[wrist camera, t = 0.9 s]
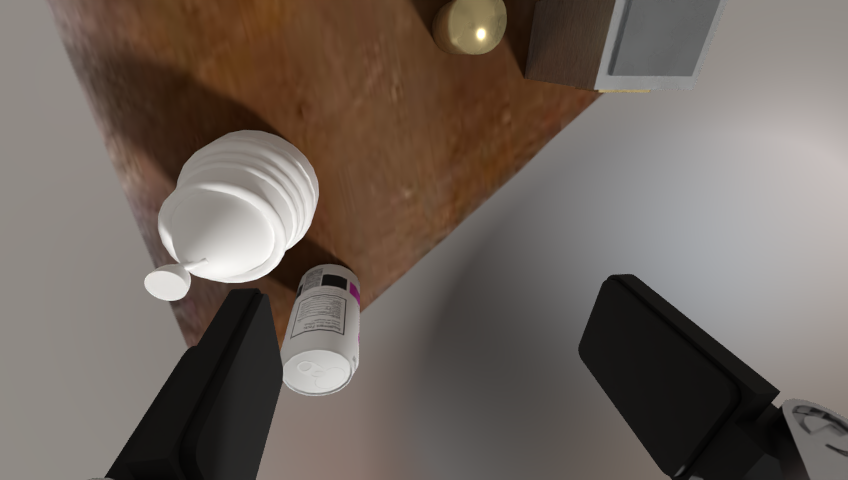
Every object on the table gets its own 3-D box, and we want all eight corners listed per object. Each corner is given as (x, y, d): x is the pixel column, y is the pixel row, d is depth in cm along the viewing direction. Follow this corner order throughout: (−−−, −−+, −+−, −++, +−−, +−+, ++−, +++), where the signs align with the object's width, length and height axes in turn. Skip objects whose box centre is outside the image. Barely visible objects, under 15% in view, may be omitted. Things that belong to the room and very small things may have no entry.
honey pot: (241, 248, 42) (169, 363, 26) (172, 152, 35) (21, 231, 20) (336, 215, 41) (320, 311, 26) (285, 113, 35) (223, 160, 19)
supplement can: (371, 282, 47) (374, 367, 34) (334, 316, 49) (324, 408, 36) (326, 250, 44) (310, 332, 31) (287, 288, 46) (258, 380, 33)
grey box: (535, 2, 33) (625, -25, 22) (615, 5, 35) (739, -18, 23) (523, 82, 37) (595, 95, 26) (596, 82, 38) (695, 95, 27)
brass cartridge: (432, 1, 32) (454, -15, 24) (475, 3, 33) (510, -12, 25) (431, 53, 34) (451, 53, 26) (471, 54, 35) (502, 54, 27)
